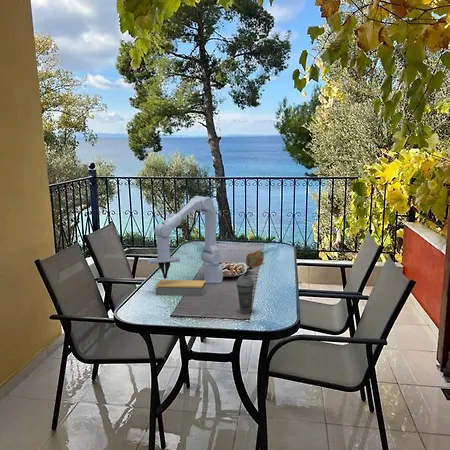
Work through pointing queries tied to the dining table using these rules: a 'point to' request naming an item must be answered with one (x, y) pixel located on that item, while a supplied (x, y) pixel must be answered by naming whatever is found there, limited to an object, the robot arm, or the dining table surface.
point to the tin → (254, 259)
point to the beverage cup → (245, 292)
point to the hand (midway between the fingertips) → (165, 277)
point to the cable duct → (180, 291)
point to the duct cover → (181, 283)
